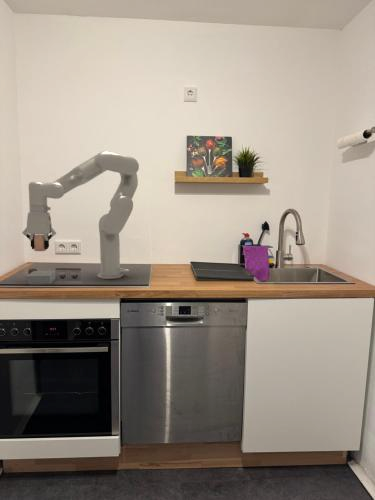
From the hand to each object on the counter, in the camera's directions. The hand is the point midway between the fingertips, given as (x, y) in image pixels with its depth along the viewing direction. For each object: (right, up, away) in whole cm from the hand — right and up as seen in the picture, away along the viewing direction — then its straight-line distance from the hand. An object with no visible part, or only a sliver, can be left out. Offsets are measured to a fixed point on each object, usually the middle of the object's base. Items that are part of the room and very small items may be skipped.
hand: (40, 248), depth 162 cm
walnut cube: (-9, -14, +12) cm, 20 cm away
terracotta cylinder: (0, -1, 0) cm, 1 cm away
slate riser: (0, -16, +2) cm, 16 cm away
